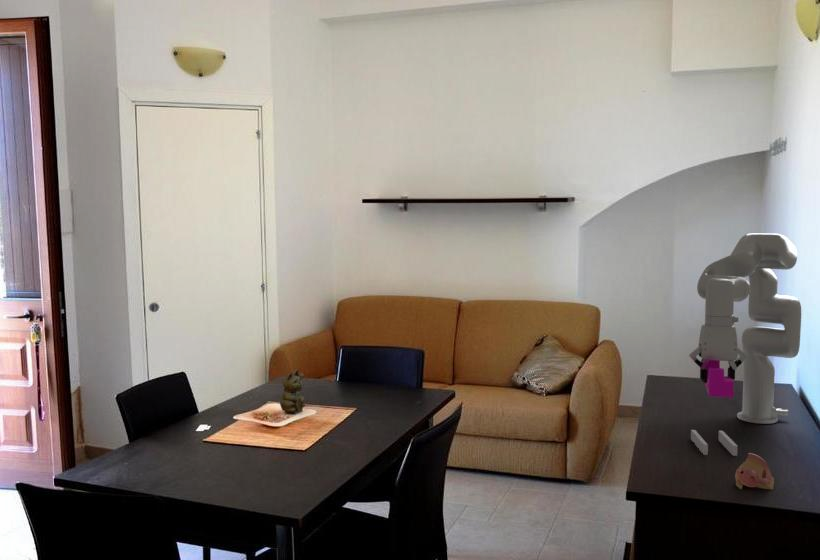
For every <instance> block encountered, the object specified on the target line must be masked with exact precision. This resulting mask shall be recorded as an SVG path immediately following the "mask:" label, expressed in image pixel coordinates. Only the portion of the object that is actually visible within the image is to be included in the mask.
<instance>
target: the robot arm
mask: <svg viewBox="0 0 820 560" xmlns="http://www.w3.org/2000/svg"><path fill="white" fill-rule="evenodd" d="M797 261H798V252H797V248H796V246H795V244H793V242H791V240H789V238H788V237H786V236H785V235H782V234H780V233H759V232H758V233H747V234H744V235H743V236H742V237H741V238H739V240H738V242H737V244H736V245H735V246H734V249H733V250H732V252H731V254H730V255H727V256H724V257H722V258H720V259H718V260H715V261H713V262H712V263H710V264H708V265H707V266H706V267H705V268H704V270H703V271H702V273H701V275H700V277H699V278H698V280H697V281H698V282H697V286H696V288H697V289H696V291H697V293H698V296H699V297H701V298H702V299H703V300H705V307H704V308H705V309H704V314H705V315H704V324H701V327H700V332H699V337H698V338H699V339H698V346H697V348H696V349H694V350H693V351H692V352H691V353H689V355H688V356H689V358H690V359H691V360H692V361H693V362H694V363H695V365H697V366H698V367H699V368H700V370H699V379H700V380H701V382H703V384H705V383H707V369H706V366H707V364H708V362H709V360H710V361H720V362H722V361H725V362H727V363H728V365H729V366H728V367H727V377H730V378H732V379H733V381H735V379H736V370H737V368H738V367H739V366H740V365H742V364H743V377H742V379H743V382H742V383H743V384H742V404H741V405H742V407H741V411H738V412H737V413H736V418H738V420H740V421H743V422H747V423H751V424H759V425H761V424H764V425H770V424H775V423H778V422H779V421H778V420H779V416H789V409H783V408H777V407H775V406H774V401H775V400H774V398H775V396H774V395H775V371H776V370H775V366H774V364H773V362H772V361H771V359H770V358H769V357H776V358H785V359H793V358H795V357H797V356H798V354H799V352H800V348H801V347H800V345H801V331H802V330H801V329H802V327H801V326H802V305H801V302H800V299H798V298H797V297H796V296H791V295H783V294H781V295H780V294H778V285H779V284H778V278H777V276H776V274H775V273H774V272H773V270H783V271H785V270H792V268H794V267H795V266H796V264H797ZM747 277H748V280H747V279H746V278H747ZM747 298H748V309H747V310H748V317H749V319H750V320H751V321H753V322H756V323H763V324H772V325H773V324H775V325H782V326H783V327H784V328H780V327H772V326H771V327H770V326H760V325H759V326H758V325H757V326H756V325H755V326H749V327H747V328H745V329H744V330H743V332H742V335H741V345H742V350H741V349H740V348H739V347H738V346H739V345H738V336H737V329H736V326H735V323H738V322H739V317H736V316H735V315H734V306H735V305H734V303H735V302H737V303H739V302H740V303H741V302H743V301H744V300H746V299H747ZM697 356H698V357H700V358H701V360H699V359H698V358H697Z"/></svg>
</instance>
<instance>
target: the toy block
mask: <svg viewBox="0 0 820 560" xmlns="http://www.w3.org/2000/svg"><path fill="white" fill-rule="evenodd" d="M720 363H721V361H710V360H709V362H708V364H707V366H706V369H707V383H704V385H705V389H706V391H707V394H708V397H717V398H718V397H719V398H734V381H735V380H733V379H732V378H730V377H728V375H727V376H725V368H723V367H722V368H720V367H721V365H720Z"/></svg>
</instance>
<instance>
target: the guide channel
mask: <svg viewBox="0 0 820 560" xmlns="http://www.w3.org/2000/svg"><path fill="white" fill-rule="evenodd" d="M690 440H691V441H692V442H694V443H695V444H694V443H693V444H694V446H696V447H697V449H698V448H699V449H698V450H699V451H700V452H701V454H702V453H703V454H702V455H704V456H709V455H708V454H709V453H708V452H709V444H708V443H707V441H705V440H704V439H703V437H702V436H701V435H700V434H699V433H698V431H697V430H696V429H690ZM718 441H719V443H720V444H721V445H722V446H723V447H724V448H725V449H726V450H727V451H728V452H729V453H730V454H731V455H732V456H733V457H734V456H735V457H738V444H737V443H736V442H734V440H733V439H732V438H731V437H730V436H728V435H727V433H726V432H725V431H723V430H718Z"/></svg>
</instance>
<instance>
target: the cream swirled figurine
mask: <svg viewBox="0 0 820 560" xmlns="http://www.w3.org/2000/svg"><path fill="white" fill-rule="evenodd" d="M747 454H748V455H747V458H746V459H745V461H743V463H741V464H740V466H738V468H736V472H735V473H734V474H735V475H734V479H735V486H736V487H738V489H740V490H742V489H743V486H746V487H749V488H755V487H756V488H760V489H766V490H772V491H773V489H774V486H775V485H774V484H775V478H774V477H773V476H772V473H771V470H770V467H769V465H768V463H767V462H766V460H765V459H763V458H762V456H759V455H758V454H755V453H752V452H748V453H747Z"/></svg>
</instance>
